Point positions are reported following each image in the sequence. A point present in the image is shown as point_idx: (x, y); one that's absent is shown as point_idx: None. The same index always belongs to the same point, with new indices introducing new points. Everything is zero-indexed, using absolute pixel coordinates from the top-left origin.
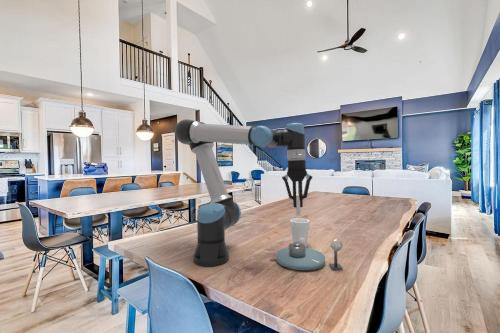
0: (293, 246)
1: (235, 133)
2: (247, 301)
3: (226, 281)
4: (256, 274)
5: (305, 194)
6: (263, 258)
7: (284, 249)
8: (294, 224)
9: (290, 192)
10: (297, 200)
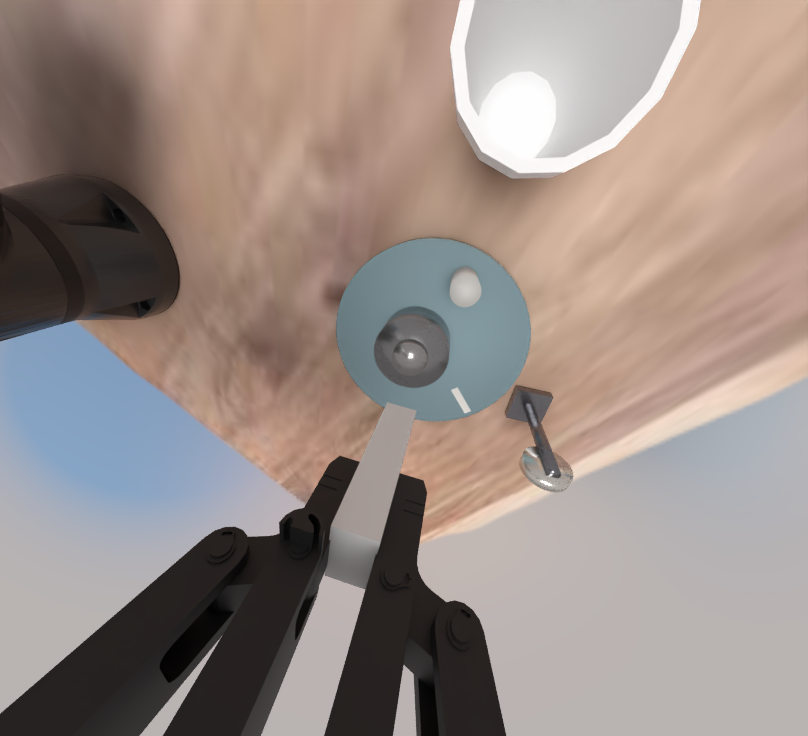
0: (391, 359)
1: None
2: (270, 473)
3: (214, 402)
4: (280, 386)
5: (432, 724)
6: (300, 275)
7: (381, 264)
8: (468, 135)
9: (165, 693)
10: (338, 577)
